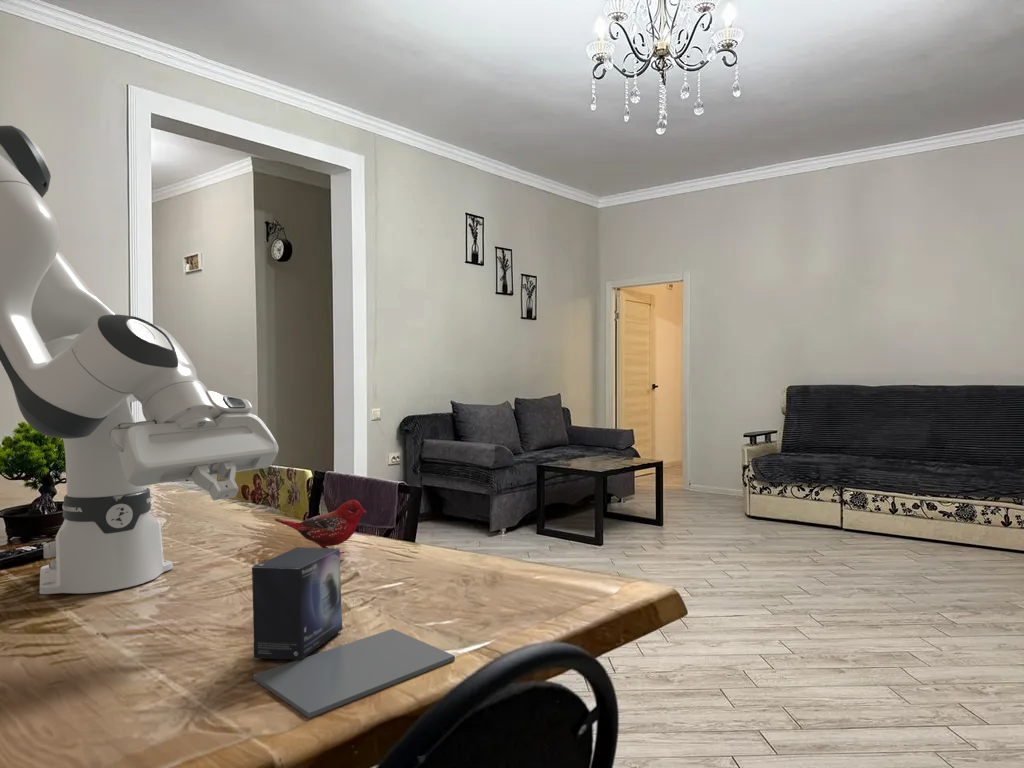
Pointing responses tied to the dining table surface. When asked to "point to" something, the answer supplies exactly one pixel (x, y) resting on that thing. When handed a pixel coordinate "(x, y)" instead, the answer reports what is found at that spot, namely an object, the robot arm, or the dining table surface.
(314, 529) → the decorative bird figurine
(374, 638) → the slate tile
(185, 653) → the dining table surface
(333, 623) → the small box
